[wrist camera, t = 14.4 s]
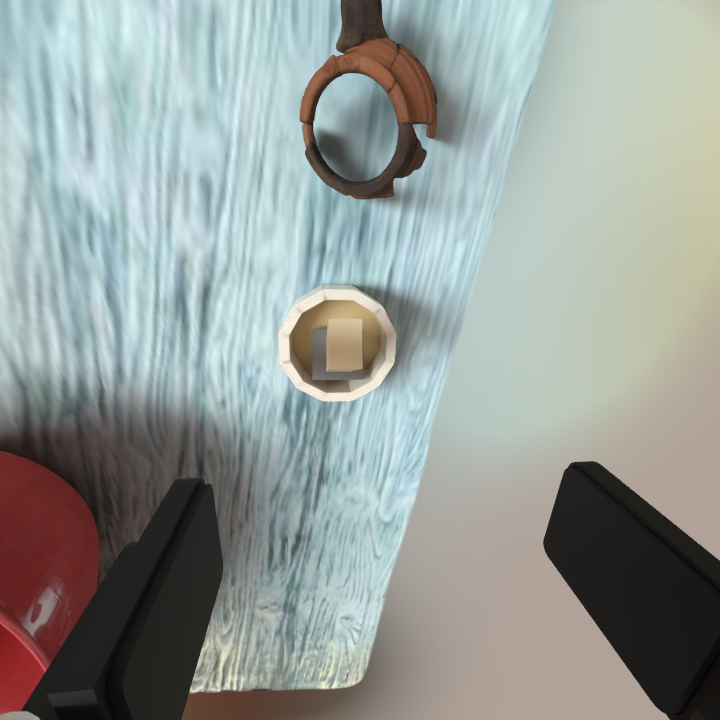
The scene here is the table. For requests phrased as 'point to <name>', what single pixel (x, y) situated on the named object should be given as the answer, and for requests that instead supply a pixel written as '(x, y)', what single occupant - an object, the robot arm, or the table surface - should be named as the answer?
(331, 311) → the cream faceted bowl
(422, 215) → the table surface
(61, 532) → the mixing bowl
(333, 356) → the wall mounted peg
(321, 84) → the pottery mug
